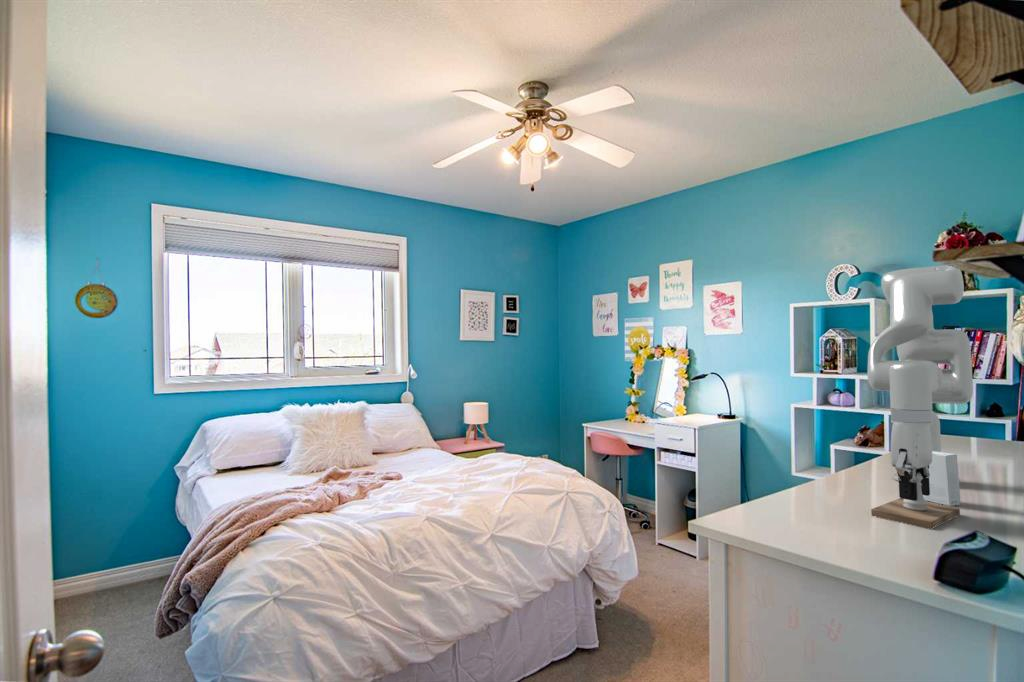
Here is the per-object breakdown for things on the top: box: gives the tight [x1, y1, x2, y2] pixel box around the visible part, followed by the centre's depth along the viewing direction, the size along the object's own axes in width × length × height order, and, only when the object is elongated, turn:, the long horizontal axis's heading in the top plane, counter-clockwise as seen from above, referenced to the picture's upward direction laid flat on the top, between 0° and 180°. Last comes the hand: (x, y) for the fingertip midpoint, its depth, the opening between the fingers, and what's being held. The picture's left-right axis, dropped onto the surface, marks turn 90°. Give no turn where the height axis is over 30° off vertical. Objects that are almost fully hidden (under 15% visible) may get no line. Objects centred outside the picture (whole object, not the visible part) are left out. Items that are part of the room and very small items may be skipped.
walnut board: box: [870, 497, 961, 530], centre depth 116 cm, size 16×11×2 cm
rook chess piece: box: [903, 472, 928, 511], centre depth 116 cm, size 4×4×8 cm
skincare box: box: [923, 451, 961, 507], centre depth 125 cm, size 6×4×12 cm
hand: (914, 496), depth 116 cm, fingers open, 6 cm apart
